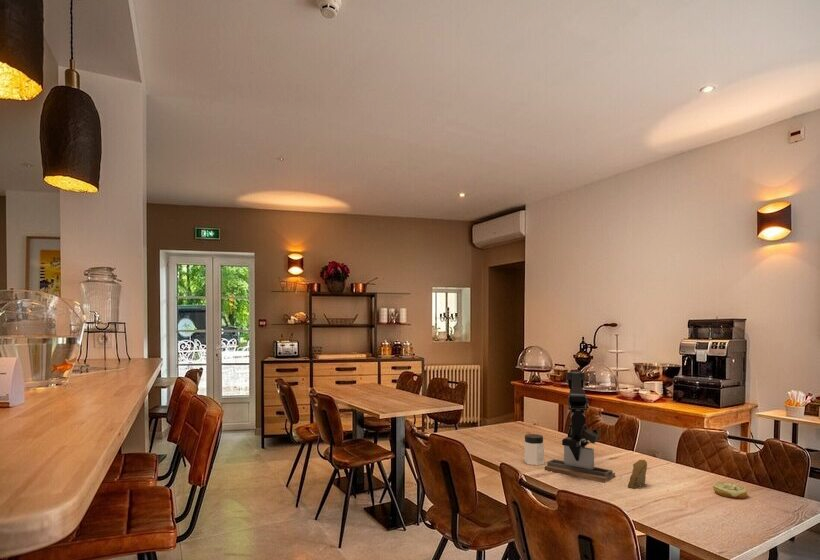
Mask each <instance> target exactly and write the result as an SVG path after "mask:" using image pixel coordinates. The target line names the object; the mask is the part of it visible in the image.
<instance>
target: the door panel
mask: <svg viewBox="0 0 820 560" xmlns="http://www.w3.org/2000/svg"><path fill="white" fill-rule="evenodd" d="M594 449H595V448H591V447H586V446H585V447H581V448H580V454H579V461H576V460H575V457H574V455H573V453H572V451H571V449H570V448H569V446H565V445H563V455H564V456H563V458H564V459H563V461H564V464H565V465H570V466H575V467H580V468H585V469H590V470H592V469H594V467H595V450H594Z"/></svg>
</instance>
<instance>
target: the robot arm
mask: <svg viewBox="0 0 820 560" xmlns="http://www.w3.org/2000/svg"><path fill="white" fill-rule="evenodd" d="M566 383H567V385H568V389H569V394H568V395H567V407H568V410H570V424H568V430H567V437H563V439H561V445H562V446H564V445H565V446H569V448H570V449H571V451H572V453H573V455H574V457H575V460H576V461H579V454H580V448H581V447H586V446H588V444H590V443H591V444H595V443H598V440H599V439H600V438H601V436H600V435H601V434H600V430H599V429H597V428H595V429H593V430H592V429H589V428H588V425H587V424H586V422H587V419H586V413H585V412H586V411H588V409H589V407H590V405H589V398H588V396H587V395H586V391H585V390H584V383H586V373H585V372H582V370H570V371H569V372H568V371H567V372H566Z"/></svg>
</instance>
